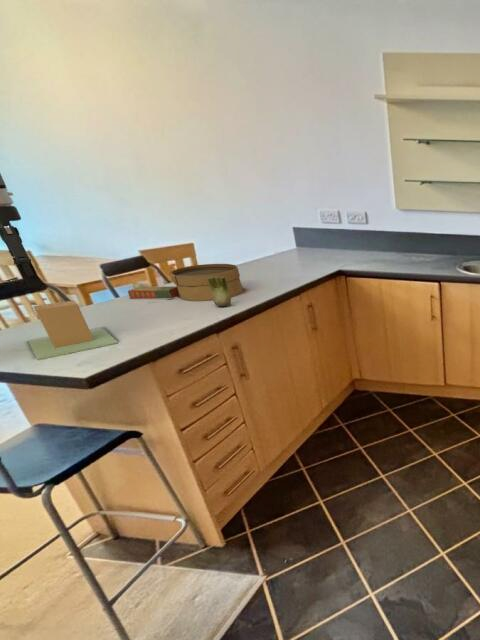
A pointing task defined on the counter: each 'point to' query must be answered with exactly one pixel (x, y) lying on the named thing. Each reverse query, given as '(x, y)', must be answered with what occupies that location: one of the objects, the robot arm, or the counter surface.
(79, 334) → the packet
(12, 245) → the robot arm
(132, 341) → the counter surface
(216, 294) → the fennel bulb
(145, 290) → the carton
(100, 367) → the counter surface
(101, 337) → the mat
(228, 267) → the steamer basket
